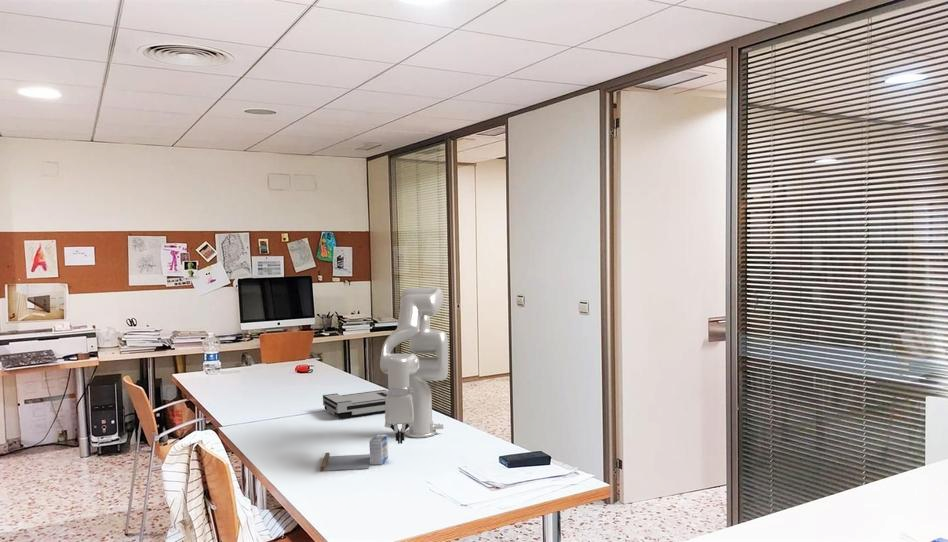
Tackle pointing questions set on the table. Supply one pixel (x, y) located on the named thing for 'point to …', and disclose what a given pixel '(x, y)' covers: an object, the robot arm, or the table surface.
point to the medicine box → (378, 449)
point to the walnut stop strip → (324, 461)
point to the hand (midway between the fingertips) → (400, 442)
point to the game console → (356, 404)
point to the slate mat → (348, 462)
